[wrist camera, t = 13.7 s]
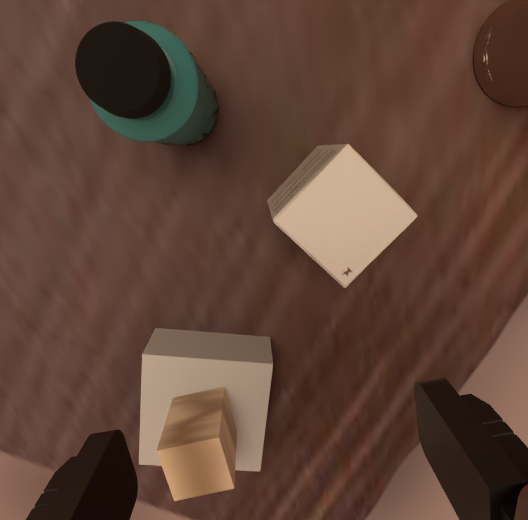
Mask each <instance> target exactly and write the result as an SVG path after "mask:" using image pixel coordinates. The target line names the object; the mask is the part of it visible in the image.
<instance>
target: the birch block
mask: <svg viewBox="0 0 528 520" xmlns="http://www.w3.org/2000/svg"><path fill="white" fill-rule="evenodd" d="M236 444H237V429H236V425H235V422H234V418H233V415H232V411H231V408H230V404H229V401H228V397H227V394H226V391H225V387H220V388H216V389H211V390H207V391H202V392H198V393H193V394H188V395H184V396H179V397H175V398H173V399H172V402H171V405H170V408H169V412H168V415H167V418H166V421H165V425H164V428H163V431H162V434H161V438H160V441H159V444H158V448H157V454H158V456H159V459H160V462H161V465H162V468H163V470H164V473H165V476H166V479H167V482H168V484H169V487H170V490H171V493H172V496H173V498H174V501H177V500H182V499H186V498H191V497H196V496H201V495H205V494H210V493H215V492H220V491H224V490H229V489H234V487H235V465H236Z"/></svg>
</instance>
